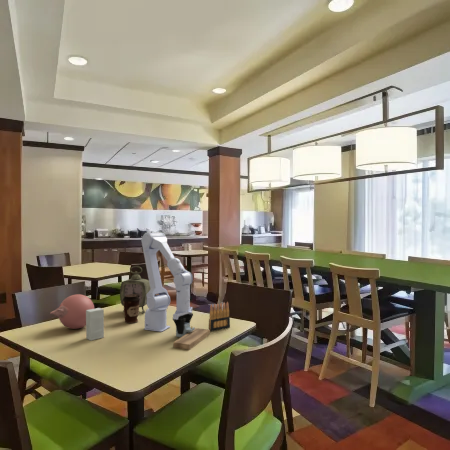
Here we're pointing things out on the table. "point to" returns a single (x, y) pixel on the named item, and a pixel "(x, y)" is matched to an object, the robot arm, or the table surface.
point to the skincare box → (94, 324)
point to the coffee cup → (131, 308)
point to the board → (191, 338)
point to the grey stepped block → (185, 329)
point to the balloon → (74, 311)
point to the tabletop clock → (135, 288)
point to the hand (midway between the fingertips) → (183, 332)
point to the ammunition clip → (219, 317)
